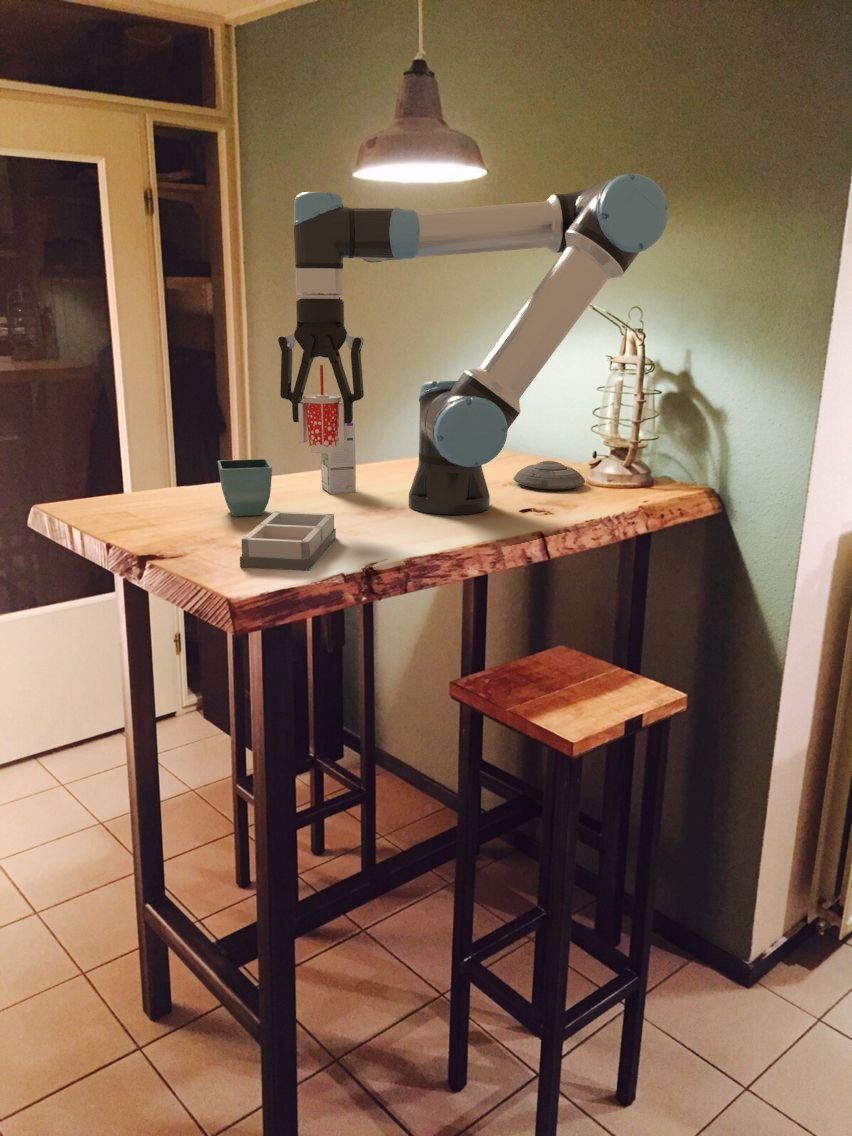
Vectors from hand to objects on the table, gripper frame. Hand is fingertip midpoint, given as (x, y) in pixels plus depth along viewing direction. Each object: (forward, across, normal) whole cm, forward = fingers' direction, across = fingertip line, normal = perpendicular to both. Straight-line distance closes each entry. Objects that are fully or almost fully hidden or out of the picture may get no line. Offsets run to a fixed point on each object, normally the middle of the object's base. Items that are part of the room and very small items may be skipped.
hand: (323, 442), depth 155 cm
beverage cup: (+2, 0, 0) cm, 2 cm away
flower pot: (+14, +16, -6) cm, 22 cm away
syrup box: (+14, +4, -29) cm, 32 cm away
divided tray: (+14, +2, +18) cm, 23 cm away
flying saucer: (+15, -38, -44) cm, 60 cm away
